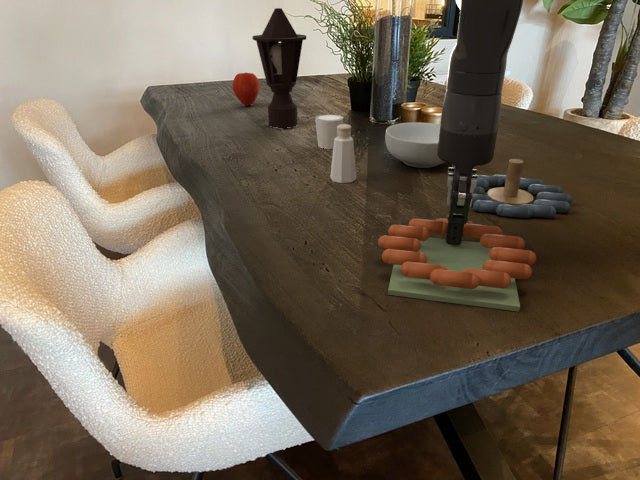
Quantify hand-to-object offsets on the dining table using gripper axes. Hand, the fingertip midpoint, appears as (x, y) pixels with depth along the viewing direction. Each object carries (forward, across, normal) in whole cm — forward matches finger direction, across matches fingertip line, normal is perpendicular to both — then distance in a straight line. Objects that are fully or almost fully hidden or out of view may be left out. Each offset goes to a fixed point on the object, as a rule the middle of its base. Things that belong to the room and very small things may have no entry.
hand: (453, 238), depth 74 cm
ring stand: (+1, +20, -10) cm, 23 cm away
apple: (+2, +84, +66) cm, 106 cm away
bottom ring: (+1, +21, -10) cm, 23 cm away
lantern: (+2, +62, +47) cm, 78 cm away
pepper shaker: (+2, +24, +22) cm, 33 cm away
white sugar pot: (+2, +46, +30) cm, 55 cm away
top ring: (-1, -7, 0) cm, 7 cm away
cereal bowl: (+1, +38, +7) cm, 39 cm away
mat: (+1, -8, 0) cm, 8 cm away
